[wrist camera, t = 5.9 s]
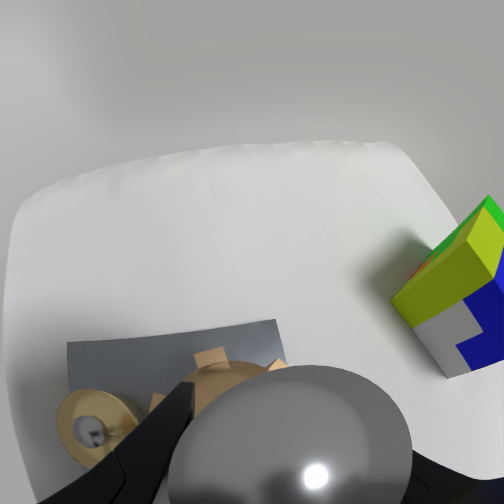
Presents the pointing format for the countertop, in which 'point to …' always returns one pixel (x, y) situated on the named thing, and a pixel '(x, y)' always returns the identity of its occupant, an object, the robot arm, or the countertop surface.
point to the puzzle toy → (461, 295)
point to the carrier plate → (142, 380)
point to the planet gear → (288, 437)
